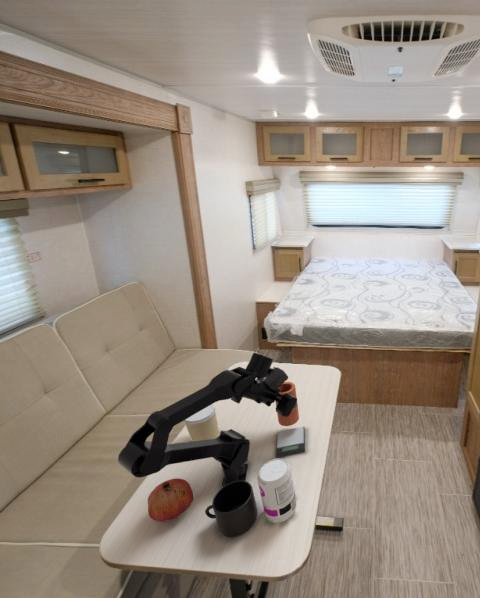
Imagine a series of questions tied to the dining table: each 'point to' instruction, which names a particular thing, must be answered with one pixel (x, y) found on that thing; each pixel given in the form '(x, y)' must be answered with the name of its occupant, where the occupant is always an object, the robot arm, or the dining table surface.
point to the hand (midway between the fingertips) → (290, 401)
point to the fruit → (169, 500)
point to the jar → (294, 415)
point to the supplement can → (277, 490)
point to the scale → (290, 441)
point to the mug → (234, 508)
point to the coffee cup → (203, 424)
